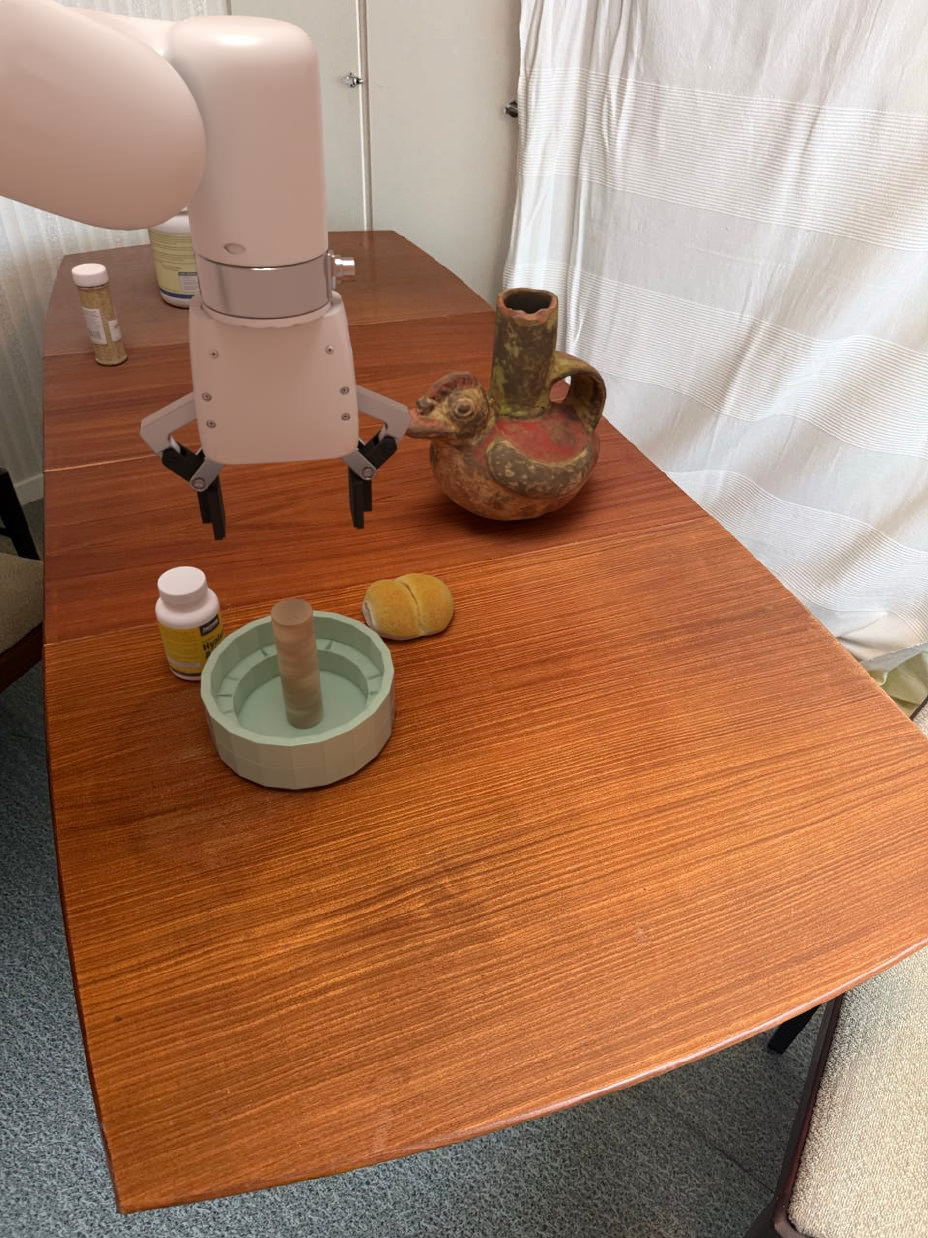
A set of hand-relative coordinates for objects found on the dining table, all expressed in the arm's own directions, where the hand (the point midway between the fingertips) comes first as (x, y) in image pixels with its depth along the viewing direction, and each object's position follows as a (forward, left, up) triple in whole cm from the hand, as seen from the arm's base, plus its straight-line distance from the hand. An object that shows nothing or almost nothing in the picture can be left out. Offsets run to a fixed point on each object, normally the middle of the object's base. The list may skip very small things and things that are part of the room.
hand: (289, 523), depth 59 cm
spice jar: (-24, +77, -21) cm, 83 cm away
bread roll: (+10, +12, -21) cm, 26 cm away
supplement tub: (-12, +101, -21) cm, 103 cm away
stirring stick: (-1, 0, -20) cm, 20 cm away
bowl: (-1, 0, -20) cm, 20 cm away
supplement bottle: (-10, +9, -21) cm, 24 cm away
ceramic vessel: (+24, +29, -21) cm, 43 cm away
